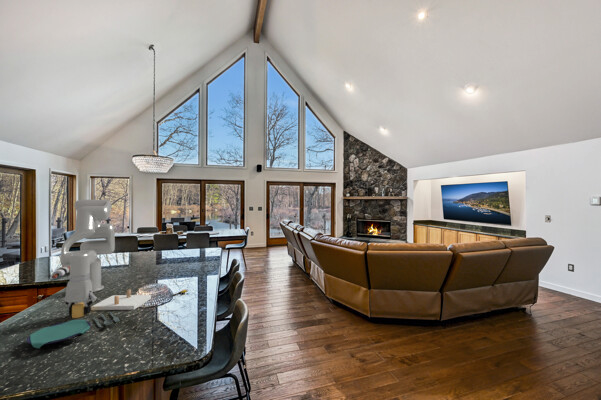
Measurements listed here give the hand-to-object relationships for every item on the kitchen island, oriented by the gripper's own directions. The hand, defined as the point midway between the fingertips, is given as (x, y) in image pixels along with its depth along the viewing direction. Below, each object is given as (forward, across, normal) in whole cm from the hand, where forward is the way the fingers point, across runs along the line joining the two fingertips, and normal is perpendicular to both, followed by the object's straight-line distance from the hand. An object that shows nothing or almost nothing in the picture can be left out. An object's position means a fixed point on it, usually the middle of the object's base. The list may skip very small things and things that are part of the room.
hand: (79, 313), depth 126 cm
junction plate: (+1, +12, +14) cm, 18 cm away
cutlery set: (+2, +11, -15) cm, 18 cm away
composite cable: (+1, +36, +29) cm, 46 cm away
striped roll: (-7, -75, +74) cm, 105 cm away
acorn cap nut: (+1, 0, 0) cm, 1 cm away
